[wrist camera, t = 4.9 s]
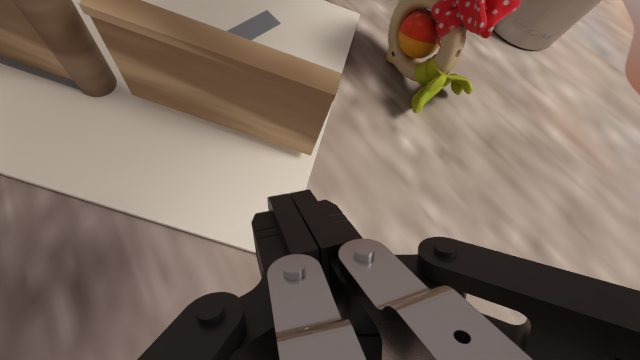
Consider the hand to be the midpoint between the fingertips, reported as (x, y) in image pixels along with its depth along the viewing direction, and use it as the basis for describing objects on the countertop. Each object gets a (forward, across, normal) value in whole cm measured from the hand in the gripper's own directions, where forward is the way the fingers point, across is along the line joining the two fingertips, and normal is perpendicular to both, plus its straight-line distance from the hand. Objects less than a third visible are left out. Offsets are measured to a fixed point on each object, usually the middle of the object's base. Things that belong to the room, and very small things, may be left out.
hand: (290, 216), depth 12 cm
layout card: (+20, -6, +4) cm, 21 cm away
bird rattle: (+17, +15, +1) cm, 23 cm away
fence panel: (+14, -1, 0) cm, 14 cm away
